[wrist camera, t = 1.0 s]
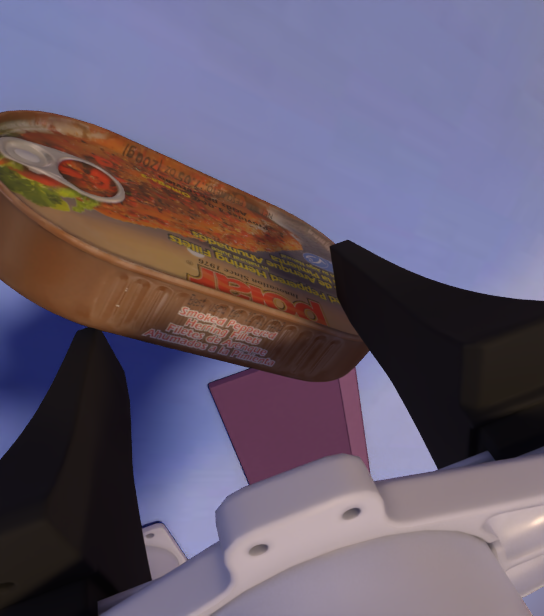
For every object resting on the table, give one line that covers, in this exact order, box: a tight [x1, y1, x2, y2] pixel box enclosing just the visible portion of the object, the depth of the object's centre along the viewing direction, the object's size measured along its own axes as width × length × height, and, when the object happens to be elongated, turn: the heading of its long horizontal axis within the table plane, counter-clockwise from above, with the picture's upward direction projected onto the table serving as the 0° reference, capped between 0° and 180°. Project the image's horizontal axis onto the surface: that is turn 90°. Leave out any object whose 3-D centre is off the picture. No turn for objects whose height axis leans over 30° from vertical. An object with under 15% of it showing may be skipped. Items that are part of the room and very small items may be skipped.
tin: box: [0, 110, 370, 382], centre depth 18 cm, size 15×3×8 cm, turn 58°
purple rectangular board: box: [209, 367, 370, 485], centre depth 34 cm, size 8×20×1 cm, turn 12°
